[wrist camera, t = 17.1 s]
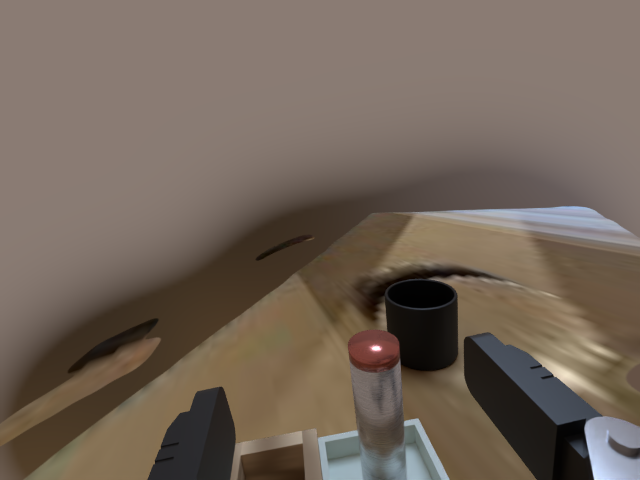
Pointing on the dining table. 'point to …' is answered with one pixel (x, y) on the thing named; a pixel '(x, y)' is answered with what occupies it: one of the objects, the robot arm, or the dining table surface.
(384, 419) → the cylinder
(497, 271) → the dining table surface
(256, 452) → the block
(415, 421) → the tray
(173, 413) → the dining table surface
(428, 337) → the mug
